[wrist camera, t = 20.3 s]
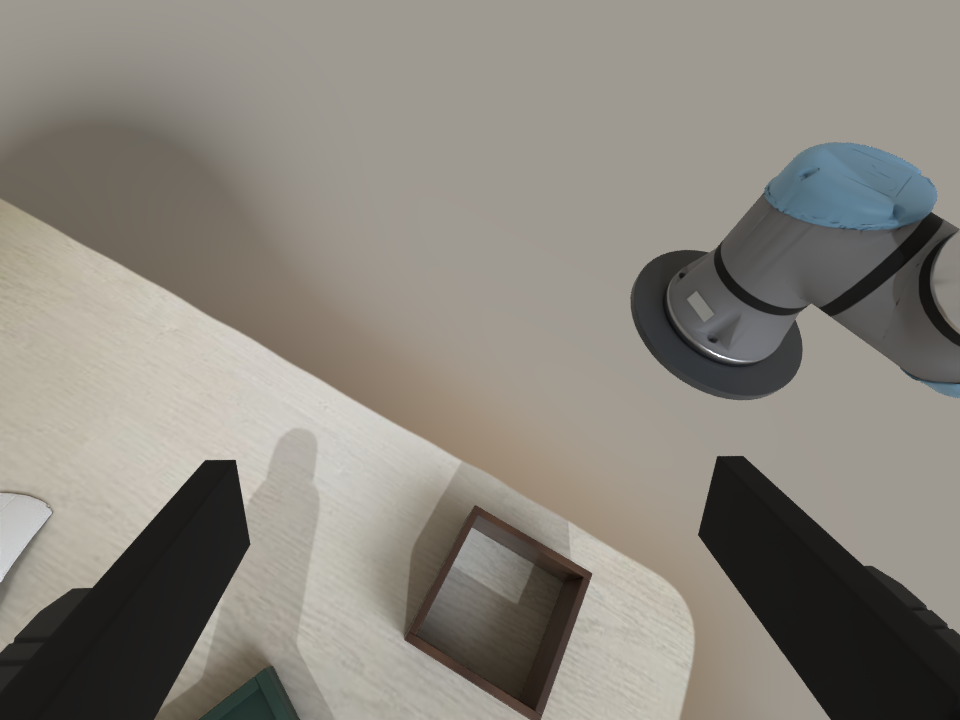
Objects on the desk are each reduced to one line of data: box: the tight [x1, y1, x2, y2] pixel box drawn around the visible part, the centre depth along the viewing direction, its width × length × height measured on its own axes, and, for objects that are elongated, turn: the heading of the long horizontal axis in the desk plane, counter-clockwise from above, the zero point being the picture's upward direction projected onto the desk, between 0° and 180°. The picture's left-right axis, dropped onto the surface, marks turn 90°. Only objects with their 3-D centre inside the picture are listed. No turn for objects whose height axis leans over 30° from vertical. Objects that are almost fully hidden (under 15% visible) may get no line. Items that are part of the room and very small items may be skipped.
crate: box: [404, 505, 592, 720], centre depth 37 cm, size 11×11×5 cm
